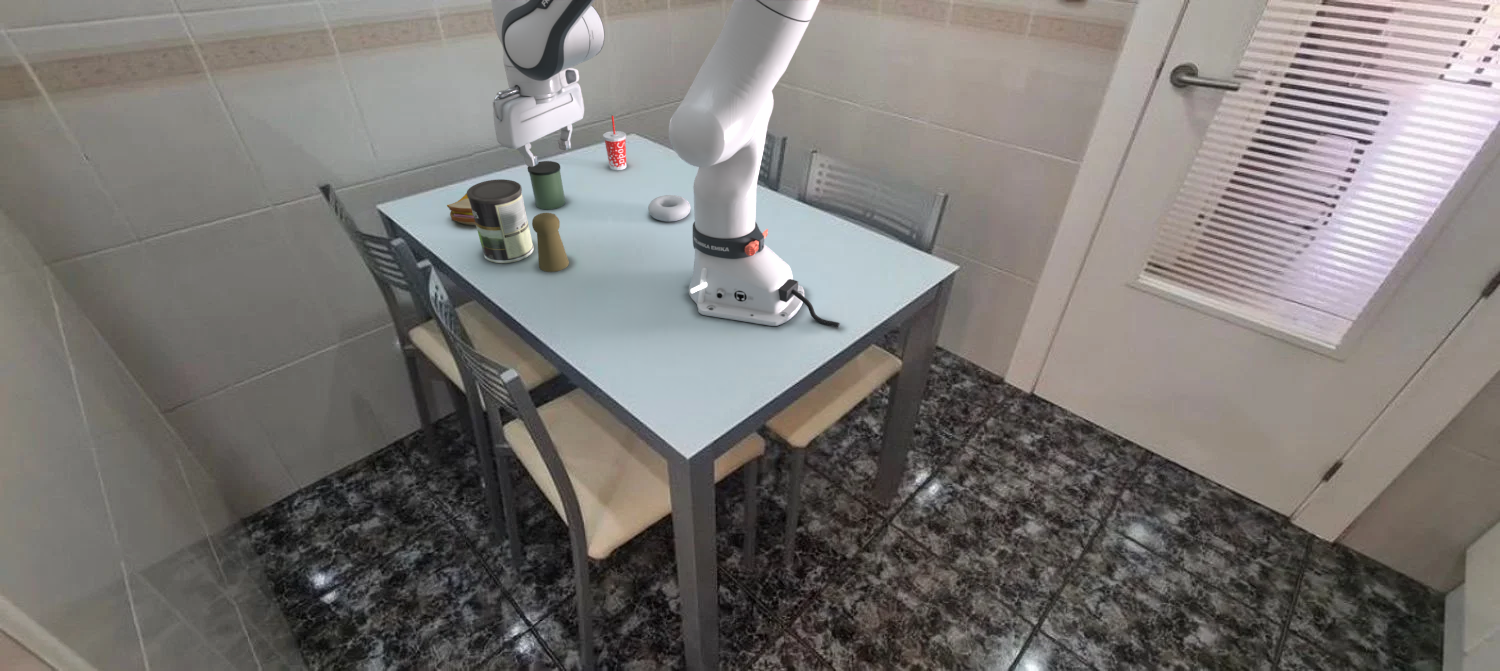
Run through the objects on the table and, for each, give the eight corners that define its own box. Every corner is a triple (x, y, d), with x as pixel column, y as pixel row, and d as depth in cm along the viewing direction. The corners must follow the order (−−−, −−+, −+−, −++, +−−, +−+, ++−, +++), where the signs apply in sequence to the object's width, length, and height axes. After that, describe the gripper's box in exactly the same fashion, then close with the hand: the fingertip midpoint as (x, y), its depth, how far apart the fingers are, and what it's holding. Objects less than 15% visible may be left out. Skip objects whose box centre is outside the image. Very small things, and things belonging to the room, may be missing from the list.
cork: (574, 259, 128) (565, 210, 122) (560, 273, 123) (551, 224, 117) (547, 255, 129) (537, 207, 123) (533, 269, 124) (522, 220, 118)
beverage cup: (611, 172, 166) (604, 120, 157) (603, 165, 170) (597, 113, 162) (632, 169, 168) (627, 117, 160) (624, 161, 172) (619, 110, 164)
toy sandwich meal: (519, 208, 147) (514, 189, 144) (481, 232, 137) (476, 213, 134) (476, 200, 150) (471, 181, 147) (436, 223, 140) (430, 204, 137)
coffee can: (482, 266, 125) (464, 202, 117) (484, 243, 133) (467, 181, 124) (535, 260, 128) (521, 196, 119) (534, 237, 135) (520, 176, 127)
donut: (654, 227, 141) (696, 220, 144) (653, 213, 139) (695, 206, 142) (644, 209, 148) (684, 203, 151) (643, 196, 146) (683, 189, 149)
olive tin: (572, 200, 151) (566, 164, 146) (552, 212, 146) (545, 175, 140) (548, 194, 154) (541, 158, 148) (528, 206, 148) (520, 169, 143)
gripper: (506, 96, 98) (524, 179, 106) (584, 68, 113) (595, 142, 121) (476, 92, 100) (496, 173, 109) (556, 65, 115) (569, 138, 124)
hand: (549, 156), depth 115 cm, fingers open, 8 cm apart
